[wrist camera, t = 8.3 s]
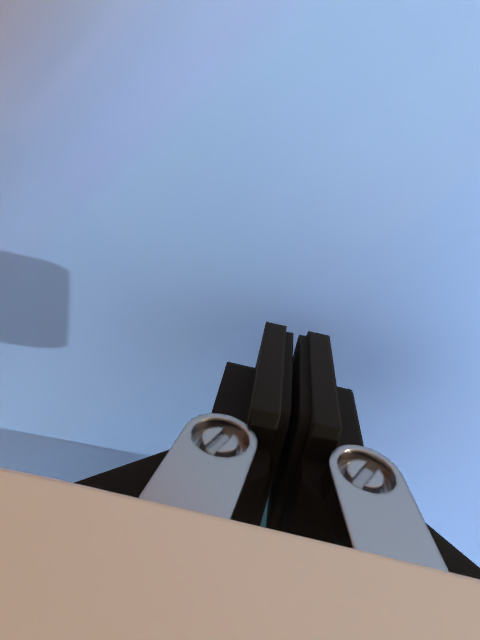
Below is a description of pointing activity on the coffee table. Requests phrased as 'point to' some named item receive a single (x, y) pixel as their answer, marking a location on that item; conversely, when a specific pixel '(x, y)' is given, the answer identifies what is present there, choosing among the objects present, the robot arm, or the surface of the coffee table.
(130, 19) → the coffee table surface
